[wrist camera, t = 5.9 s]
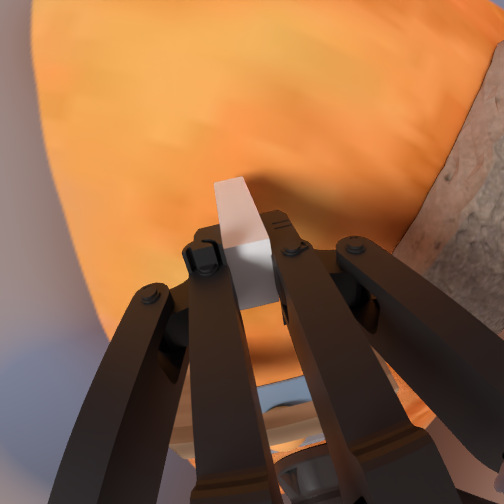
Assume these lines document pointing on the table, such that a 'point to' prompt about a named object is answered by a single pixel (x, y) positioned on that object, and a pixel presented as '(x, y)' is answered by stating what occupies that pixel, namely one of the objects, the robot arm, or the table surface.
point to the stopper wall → (309, 440)
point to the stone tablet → (467, 211)
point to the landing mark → (284, 393)
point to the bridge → (276, 422)
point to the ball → (288, 445)
